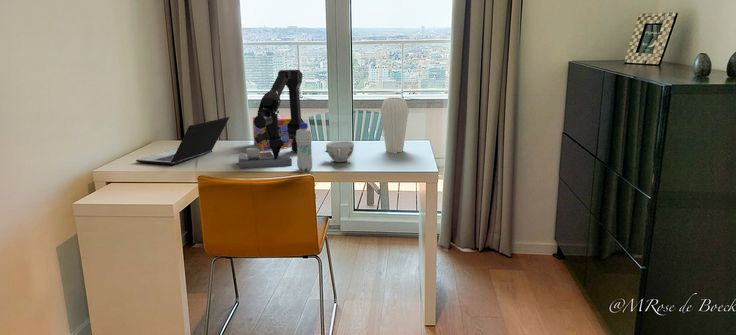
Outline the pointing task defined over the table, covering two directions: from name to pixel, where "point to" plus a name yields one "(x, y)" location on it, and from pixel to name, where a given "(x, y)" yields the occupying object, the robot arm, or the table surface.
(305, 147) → the bottle
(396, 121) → the vase
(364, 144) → the table surface
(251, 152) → the block
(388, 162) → the table surface
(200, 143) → the laptop
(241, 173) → the table surface
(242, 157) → the vise
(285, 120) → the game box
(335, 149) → the teacup
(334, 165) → the table surface
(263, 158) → the panel
